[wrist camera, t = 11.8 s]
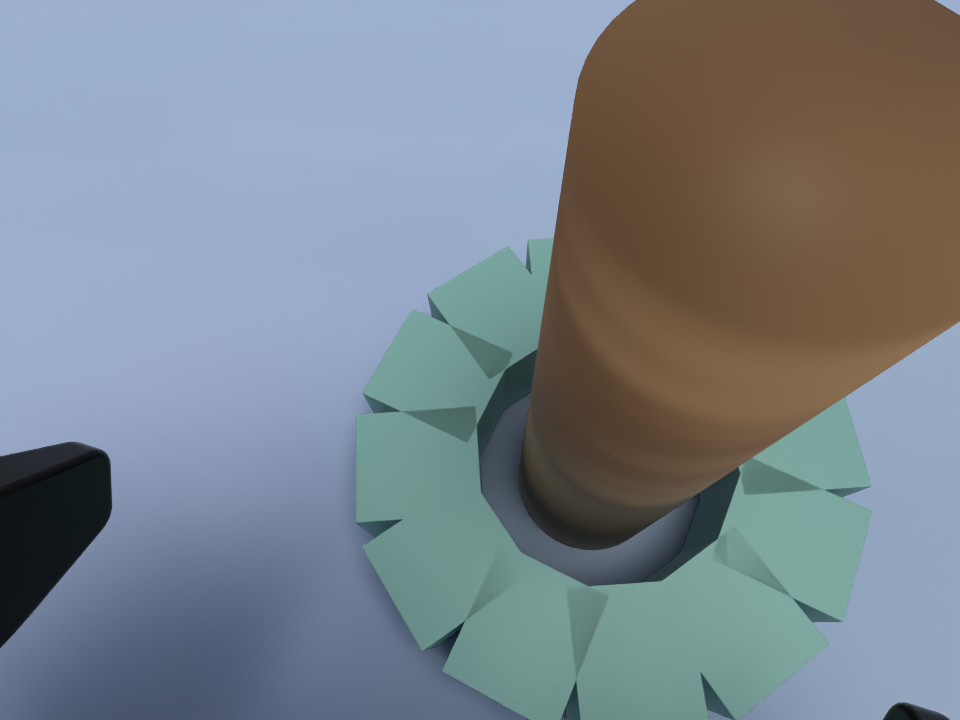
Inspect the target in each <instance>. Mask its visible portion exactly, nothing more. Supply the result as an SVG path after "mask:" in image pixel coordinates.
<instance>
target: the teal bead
mask: <svg viewBox="0 0 960 720" xmlns="http://www.w3.org/2000/svg"><path fill="white" fill-rule="evenodd" d="M553 241H554V238H550V239H535V240H528V246H527V258H526V267H525V266H524V265H523V264H522V262H521V261H520V260H519V259H518V258H517V256H516V255H515V254H514V253H513V251H512V250H511V249H510V248H509V246H507V247H506V248H504V249H502V250H501V251H499V252H497V253H496V254H494V255H492V256H491V257H489V258H487V259H485V260H484V261H482V262H480V263H479V264H477V265H475V266H474V267H472V268H470V269H469V270H467V271H465V272H464V273H462V274H460V275H458V276H457V277H455V278H453V279H452V280H450V281H448V282H447V283H445V284H443V285H442V286H440V287H438V288H436V289H435V290H433V291H431V292H430V293H428V294H427V295H428V300H429V304H430V309H431V314H432V317H430V316H428V315H426V314H423V313H421V312H419V311H417V310H414V309H412V310H411V312H410V314H409V315H408V317H407V319H406V320H405V322H404V324H403V325H402V327H401V329H400V330H399V332H398V334H397V336H396V337H395V339H394V341H393V342H392V344H391V346H390V347H389V349H388V351H387V352H386V354H385V356H384V358H383V359H382V361H381V363H380V364H379V366H378V368H377V369H376V371H375V373H374V374H373V376H372V378H371V379H370V381H369V383H368V385H367V386H366V388H365V390H364V391H363V395H364V396H365V398H366V400H367V402H368V403H369V405H370V407H371V409H372V410H373V412H374V413H373V414H358V415H356V522H355V523H357V524H358V525H360V526H361V527H362V528H364V529H365V530H366V531H368V532H369V533H370V534H372V535H373V536H375V537H376V538H374V539H373V540H371V541H370V542H368V543H367V544H365V545H364V546H362V548H363V550H364V552H365V553H366V555H367V557H368V558H369V560H370V562H371V564H372V565H373V567H374V569H375V571H376V572H377V574H378V576H379V578H380V579H381V581H382V583H383V585H384V586H385V588H386V590H387V591H388V593H389V595H390V597H391V598H392V600H393V602H394V604H395V605H396V607H397V609H398V611H399V612H400V614H401V616H402V618H403V619H404V621H405V623H406V624H407V626H408V628H409V630H410V631H411V633H412V635H413V637H414V638H415V640H416V642H417V644H418V645H419V647H420V649H421V650H422V651H425V650H428V649H431V648H434V647H436V646H438V645H439V644H440V643H442V642H443V641H444V640H446V639H447V638H449V637H450V636H451V635H453V634H454V633H456V632H457V631H458V630H460V629H461V628H462V629H461V631H460V633H459V635H458V637H457V640H456V642H455V644H454V646H453V648H452V650H451V653H450V655H449V657H448V659H447V661H446V663H445V665H444V668H443V670H442V672H444V673H446V674H448V675H450V676H451V677H453V678H455V679H457V680H459V681H460V682H462V683H464V684H466V685H468V686H469V687H471V688H473V689H475V690H477V691H478V692H480V693H482V694H484V695H486V696H487V697H489V698H491V699H493V700H495V701H496V702H498V703H500V704H502V705H504V706H505V707H507V708H509V709H511V710H513V711H514V712H516V713H518V714H520V715H522V716H523V717H525V718H527V719H529V720H561V717H562V715H563V712H564V710H565V707H566V716H567V720H709V718H708V712H707V710H710V711H712V712H715V713H717V714H720V715H722V716H725V717H727V718H730V719H732V720H738V719H740V718H741V717H742V716H743V715H744V714H746V713H747V712H748V711H749V710H750V709H752V708H753V707H754V706H755V705H756V704H758V703H759V702H760V701H761V700H762V699H764V698H765V697H766V696H767V695H768V694H770V693H771V692H772V691H773V690H774V689H775V688H777V687H778V686H779V685H780V684H781V683H783V682H784V681H785V680H786V679H787V678H789V677H790V676H791V675H792V674H793V673H795V672H796V671H797V670H798V669H799V668H801V667H802V666H803V665H804V664H805V663H807V662H808V661H809V660H810V659H811V658H813V657H814V656H815V655H816V654H817V653H819V652H820V651H821V650H822V649H823V648H825V647H826V646H827V645H828V644H829V643H828V642H827V640H826V639H825V638H824V637H823V635H822V634H821V633H820V632H819V630H818V629H817V628H816V627H815V626H814V624H813V623H812V622H843V620H844V616H845V612H846V608H847V604H848V601H849V597H850V593H851V589H852V586H853V582H854V578H855V574H856V570H857V567H858V563H859V559H860V555H861V551H862V548H863V544H864V540H865V536H866V533H867V529H868V525H869V521H870V517H871V514H872V511H871V510H869V509H866V508H864V507H862V506H860V505H857V504H855V503H853V502H851V501H848V500H846V499H844V498H841V497H844V496H847V495H850V494H852V493H855V492H858V491H860V490H863V489H866V488H868V487H871V483H870V480H869V476H868V473H867V470H866V466H865V463H864V460H863V456H862V453H861V449H860V446H859V443H858V439H857V436H856V433H855V429H854V426H853V423H852V419H851V416H850V412H849V409H848V406H847V402H846V399H845V397H844V398H842V399H841V400H839V401H838V402H836V403H835V404H833V405H832V406H830V407H829V408H827V409H826V410H824V411H823V412H821V413H820V414H818V415H817V416H815V417H814V418H812V419H810V420H809V421H807V422H806V423H804V424H803V425H801V426H800V427H798V428H797V429H795V430H794V431H792V432H791V433H789V434H788V435H786V436H785V437H783V438H782V439H780V440H779V441H777V442H776V443H774V444H772V445H771V446H769V447H768V448H766V449H765V450H763V451H762V452H760V453H759V454H757V455H756V456H754V457H753V458H751V459H750V460H748V461H747V462H745V463H744V464H742V465H741V466H739V467H738V468H736V469H734V470H733V471H731V472H730V473H728V474H727V475H725V476H724V477H722V478H721V479H719V480H718V481H716V482H715V483H713V484H712V485H710V486H709V487H707V488H706V489H704V490H703V491H701V492H700V493H699V498H700V501H699V503H698V506H697V509H696V512H695V514H694V517H693V520H692V523H691V525H690V528H689V531H688V534H687V536H686V539H685V542H684V545H683V547H682V550H681V553H680V554H679V555H678V556H676V557H675V558H674V559H672V560H671V561H670V562H668V563H667V564H666V565H664V566H663V567H662V568H660V569H659V570H658V571H656V572H655V573H654V574H652V575H651V576H650V577H648V578H647V579H646V580H644V581H643V582H642V583H629V584H614V585H600V586H587V585H585V584H583V583H581V582H579V581H577V580H575V579H573V578H571V577H569V576H567V575H565V574H563V573H561V572H559V571H557V570H555V569H553V568H551V567H549V566H547V565H545V564H543V563H541V562H539V561H537V560H535V559H533V558H531V557H529V556H527V555H525V554H523V553H521V552H520V550H519V549H518V547H517V546H516V544H515V543H514V541H513V540H512V538H511V537H510V535H509V534H508V532H507V531H506V529H505V528H504V526H503V525H502V523H501V522H500V520H499V519H498V517H497V516H496V514H495V513H494V511H493V510H492V508H491V507H490V505H489V504H488V502H487V501H486V499H485V498H484V496H483V495H482V483H481V468H480V456H481V454H482V452H483V450H484V448H485V446H486V444H487V442H488V440H489V438H490V436H491V434H492V432H493V430H494V428H495V426H496V424H497V422H498V420H499V418H500V416H501V414H502V412H503V410H504V409H505V408H507V407H509V406H510V405H512V404H513V403H515V402H516V401H518V400H519V399H521V398H522V397H524V396H525V395H527V394H529V393H530V392H531V389H532V382H533V376H534V369H535V362H536V355H537V349H538V342H539V335H540V328H541V322H542V315H543V308H544V301H545V295H546V288H547V281H548V275H549V268H550V261H551V254H552V248H553Z"/></svg>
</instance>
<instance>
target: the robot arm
mask: <svg viewBox="0 0 960 720" xmlns="http://www.w3.org/2000/svg"><path fill="white" fill-rule="evenodd" d="M111 510H112V488H111V464H110V459H109V457H108V455H107V453H106V452H104V451H103V450H101V449H98V448H95V447H92V446H89V445H85V444H82V443H78V442H66V443H62V444H57V445H52V446H47V447H43V448H38V449H33V450H29V451H24V452H19V453H14V454H10V455H5V456H0V648H1V647H2V646H3V645H4V644H5V643H6V642H7V641H8V640H9V638H10V637H11V636H12V635H13V634H14V633H15V632H16V631H17V630H18V629H19V627H20V626H21V625H22V624H23V623H24V622H25V621H26V620H27V618H28V617H29V616H30V615H31V614H32V613H33V611H34V610H35V609H36V608H37V607H38V605H39V604H40V603H41V602H42V601H43V599H44V598H45V597H46V596H47V595H48V594H49V592H50V591H51V590H52V589H53V588H54V586H55V585H56V584H57V583H58V582H59V580H60V579H61V578H62V577H63V576H64V574H65V573H66V572H67V571H68V570H69V569H70V567H71V566H72V565H73V564H74V563H75V561H76V560H77V559H78V558H79V557H80V555H81V554H82V553H83V552H84V551H85V549H86V548H87V547H88V546H89V545H90V544H91V542H92V541H93V540H94V539H95V538H96V536H97V535H98V534H99V533H100V532H101V530H102V529H103V528H104V526H105V525H106V523H107V521H108V519H109V517H110V514H111ZM883 720H949V719H948V718H947V717H946V716H944V715H942V714H940V713H938V712H935V711H932V710H928V709H925V708H922V707H919V706H916V705H912V704H909V703H897V704H895V705H893V706H892V707H891V708H890V709H889V711H888V712H887V714H886V715H885V717H884V719H883Z"/></svg>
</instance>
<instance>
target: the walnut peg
mask: <svg viewBox="0 0 960 720" xmlns="http://www.w3.org/2000/svg"><path fill="white" fill-rule="evenodd" d="M959 321H960V15H958V14H956V13H955V12H953V11H951V10H950V9H948V8H946V7H945V6H943V5H941V4H940V3H938V2H937V1H935V0H636V1H635V2H633V3H632V4H630V5H629V6H628V7H627V8H626V9H625V10H623V11H622V12H621V13H620V14H619V15H618V16H617V17H616V18H615V19H613V20H612V22H611V23H610V24H609V25H608V26H607V28H606V29H605V30H604V31H603V33H602V34H601V35H600V36H599V37H598V39H597V41H596V42H595V44H594V46H593V47H592V49H591V51H590V52H589V54H588V56H587V58H586V60H585V63H584V66H583V68H582V71H581V74H580V76H579V79H578V84H577V89H576V95H575V100H574V106H573V113H572V120H571V126H570V133H569V140H568V147H567V153H566V160H565V167H564V173H563V180H562V187H561V194H560V200H559V207H558V214H557V221H556V227H555V234H554V241H553V248H552V254H551V261H550V268H549V275H548V281H547V288H546V295H545V301H544V308H543V315H542V322H541V328H540V335H539V342H538V349H537V355H536V362H535V369H534V376H533V382H532V389H531V396H530V403H529V409H528V416H527V423H526V429H525V436H524V443H523V450H522V456H521V463H520V470H519V484H520V491H521V496H522V499H523V502H524V505H525V507H526V509H527V511H528V513H529V514H530V516H531V517H532V519H533V520H534V522H535V523H536V524H537V525H538V526H539V527H540V528H541V529H542V530H543V531H544V532H545V533H546V534H547V535H549V536H550V537H552V538H553V539H555V540H556V541H558V542H560V543H562V544H565V545H567V546H570V547H573V548H578V549H584V550H601V549H606V548H610V547H613V546H616V545H619V544H621V543H623V542H625V541H627V540H628V539H630V538H631V537H633V536H634V535H636V534H637V533H639V532H640V531H642V530H643V529H645V528H646V527H648V526H649V525H651V524H652V523H654V522H655V521H657V520H658V519H660V518H662V517H663V516H665V515H666V514H668V513H669V512H671V511H672V510H674V509H675V508H677V507H678V506H680V505H681V504H683V503H684V502H686V501H687V500H689V499H690V498H692V497H693V496H695V495H696V494H698V493H700V492H701V491H703V490H704V489H706V488H707V487H709V486H710V485H712V484H713V483H715V482H716V481H718V480H719V479H721V478H722V477H724V476H725V475H727V474H728V473H730V472H731V471H733V470H734V469H736V468H738V467H739V466H741V465H742V464H744V463H745V462H747V461H748V460H750V459H751V458H753V457H754V456H756V455H757V454H759V453H760V452H762V451H763V450H765V449H766V448H768V447H769V446H771V445H772V444H774V443H776V442H777V441H779V440H780V439H782V438H783V437H785V436H786V435H788V434H789V433H791V432H792V431H794V430H795V429H797V428H798V427H800V426H801V425H803V424H804V423H806V422H807V421H809V420H810V419H812V418H814V417H815V416H817V415H818V414H820V413H821V412H823V411H824V410H826V409H827V408H829V407H830V406H832V405H833V404H835V403H836V402H838V401H839V400H841V399H842V398H844V397H845V396H847V395H848V394H850V393H852V392H853V391H855V390H856V389H858V388H859V387H861V386H862V385H864V384H865V383H867V382H868V381H870V380H871V379H873V378H874V377H876V376H877V375H879V374H880V373H882V372H883V371H885V370H886V369H888V368H890V367H891V366H893V365H894V364H896V363H897V362H899V361H900V360H902V359H903V358H905V357H906V356H908V355H909V354H911V353H912V352H914V351H915V350H917V349H918V348H920V347H921V346H923V345H924V344H926V343H928V342H929V341H931V340H932V339H934V338H935V337H937V336H938V335H940V334H941V333H943V332H944V331H946V330H947V329H949V328H950V327H952V326H953V325H955V324H956V323H958V322H959Z"/></svg>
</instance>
